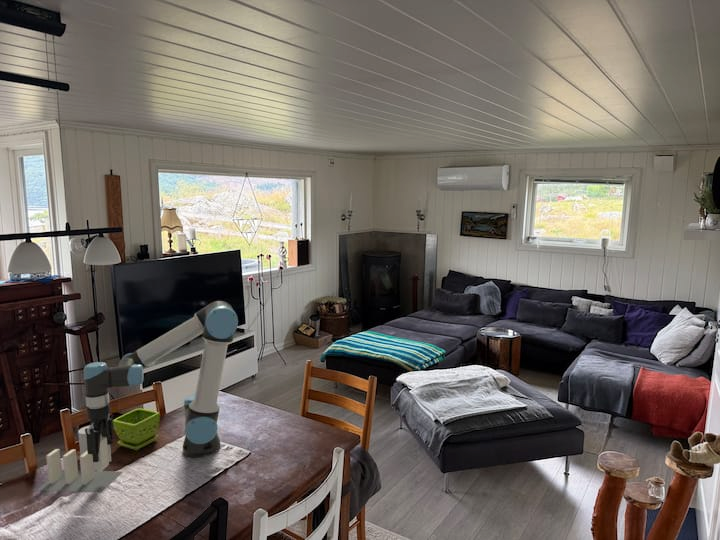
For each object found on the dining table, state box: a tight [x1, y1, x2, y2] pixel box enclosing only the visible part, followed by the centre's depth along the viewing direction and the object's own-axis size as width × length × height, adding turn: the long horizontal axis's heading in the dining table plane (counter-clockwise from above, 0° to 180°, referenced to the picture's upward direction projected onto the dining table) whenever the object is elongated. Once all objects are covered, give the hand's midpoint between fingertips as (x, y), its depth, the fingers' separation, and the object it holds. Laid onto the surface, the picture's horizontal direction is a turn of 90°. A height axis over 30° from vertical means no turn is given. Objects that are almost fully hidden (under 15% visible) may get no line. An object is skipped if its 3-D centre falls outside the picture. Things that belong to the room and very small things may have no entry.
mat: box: [36, 469, 124, 494], centre depth 184 cm, size 25×14×1 cm, turn 85°
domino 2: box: [62, 448, 79, 484], centre depth 184 cm, size 2×5×11 cm, turn 175°
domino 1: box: [45, 448, 63, 484], centre depth 184 cm, size 2×5×11 cm, turn 175°
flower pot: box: [113, 407, 161, 451], centre depth 212 cm, size 14×14×13 cm
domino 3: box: [79, 451, 95, 485], centre depth 183 cm, size 2×5×11 cm, turn 175°
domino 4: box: [96, 437, 110, 472], centre depth 182 cm, size 2×5×11 cm, turn 175°
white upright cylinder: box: [77, 424, 102, 456], centre depth 202 cm, size 8×8×12 cm
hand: (102, 464), depth 182 cm, fingers closed on domino 4, 5 cm apart
